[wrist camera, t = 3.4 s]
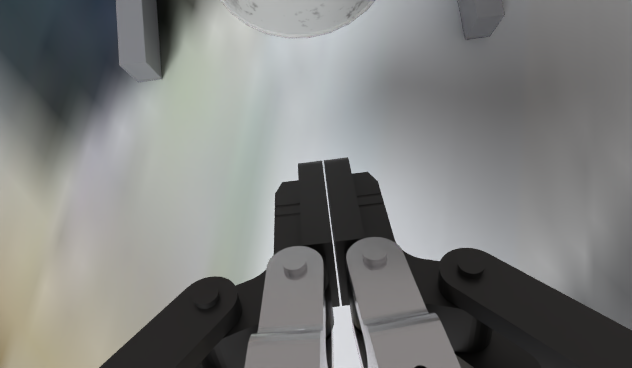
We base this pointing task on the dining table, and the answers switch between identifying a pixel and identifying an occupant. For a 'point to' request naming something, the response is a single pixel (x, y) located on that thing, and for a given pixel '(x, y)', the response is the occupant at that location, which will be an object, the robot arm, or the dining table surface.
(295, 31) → the grey concrete cylinder
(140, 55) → the two-trap box
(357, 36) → the dining table surface
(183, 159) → the dining table surface
